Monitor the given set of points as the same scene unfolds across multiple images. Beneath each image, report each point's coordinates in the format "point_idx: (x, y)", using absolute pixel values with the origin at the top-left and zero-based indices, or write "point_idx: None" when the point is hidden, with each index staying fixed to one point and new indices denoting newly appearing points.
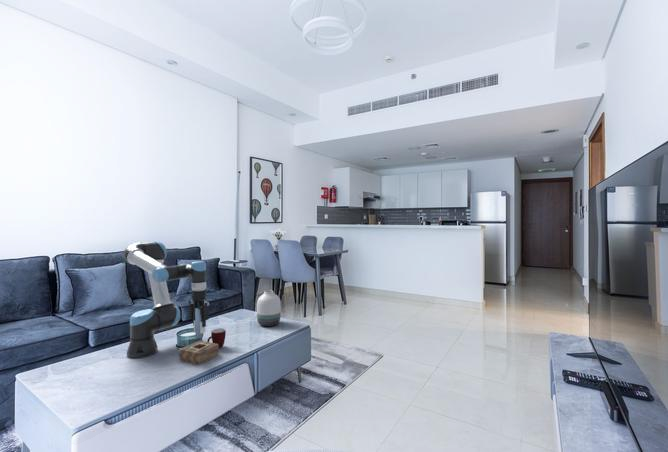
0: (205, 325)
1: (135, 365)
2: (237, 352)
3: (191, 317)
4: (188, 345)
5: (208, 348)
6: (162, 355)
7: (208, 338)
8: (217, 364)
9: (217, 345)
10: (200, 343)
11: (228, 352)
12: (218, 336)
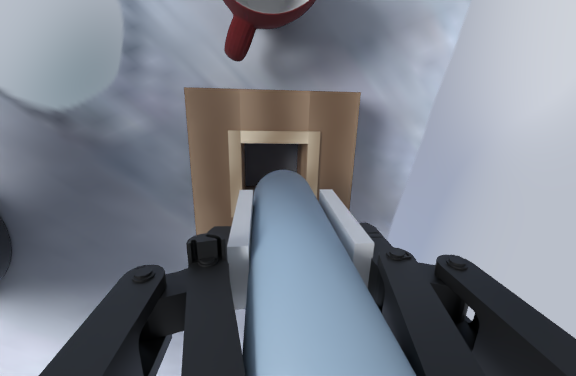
0: (375, 233)
1: (78, 326)
2: (422, 24)
3: (168, 341)
4: (194, 189)
5: (348, 176)
6: (70, 216)
7: (233, 47)
8: (404, 185)
9: (357, 102)
10: (243, 137)
11: (373, 45)
12: (308, 8)
